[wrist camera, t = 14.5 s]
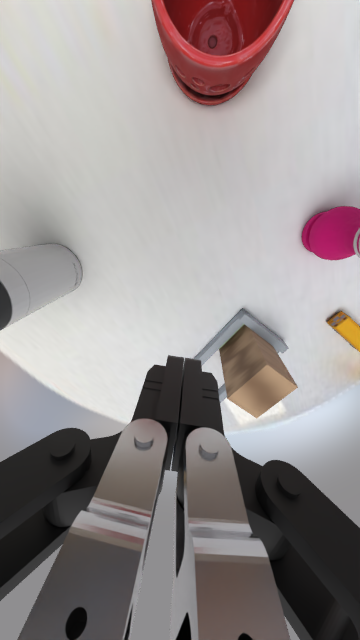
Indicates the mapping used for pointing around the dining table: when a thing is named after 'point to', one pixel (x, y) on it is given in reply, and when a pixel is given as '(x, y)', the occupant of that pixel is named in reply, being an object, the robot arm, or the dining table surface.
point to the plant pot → (217, 42)
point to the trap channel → (230, 330)
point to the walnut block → (254, 372)
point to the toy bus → (346, 329)
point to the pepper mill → (333, 233)
